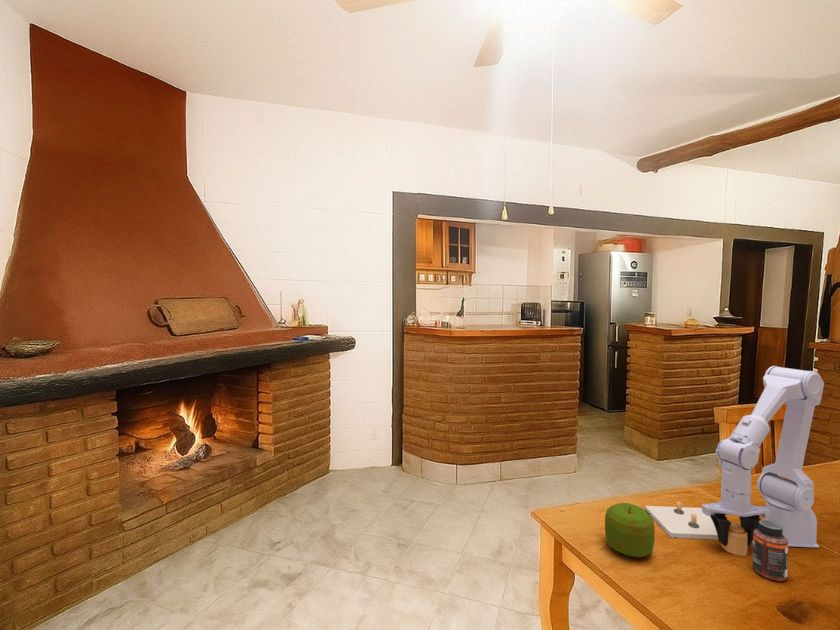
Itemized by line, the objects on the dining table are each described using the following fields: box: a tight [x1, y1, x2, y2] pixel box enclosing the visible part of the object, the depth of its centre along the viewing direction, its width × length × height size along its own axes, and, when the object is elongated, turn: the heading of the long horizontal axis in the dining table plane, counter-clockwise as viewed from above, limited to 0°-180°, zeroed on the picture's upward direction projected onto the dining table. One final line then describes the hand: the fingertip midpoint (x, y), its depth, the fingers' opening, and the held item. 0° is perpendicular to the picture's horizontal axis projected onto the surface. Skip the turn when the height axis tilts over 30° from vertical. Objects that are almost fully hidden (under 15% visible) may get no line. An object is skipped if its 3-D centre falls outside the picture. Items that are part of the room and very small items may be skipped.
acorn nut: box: [720, 522, 749, 557], centre depth 99 cm, size 5×5×6 cm
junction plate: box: [644, 500, 719, 541], centre depth 111 cm, size 16×14×4 cm
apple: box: [604, 502, 655, 559], centre depth 99 cm, size 11×11×11 cm
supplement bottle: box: [752, 519, 789, 582], centre depth 90 cm, size 6×6×11 cm
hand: (734, 543), depth 99 cm, fingers closed on acorn nut, 5 cm apart
